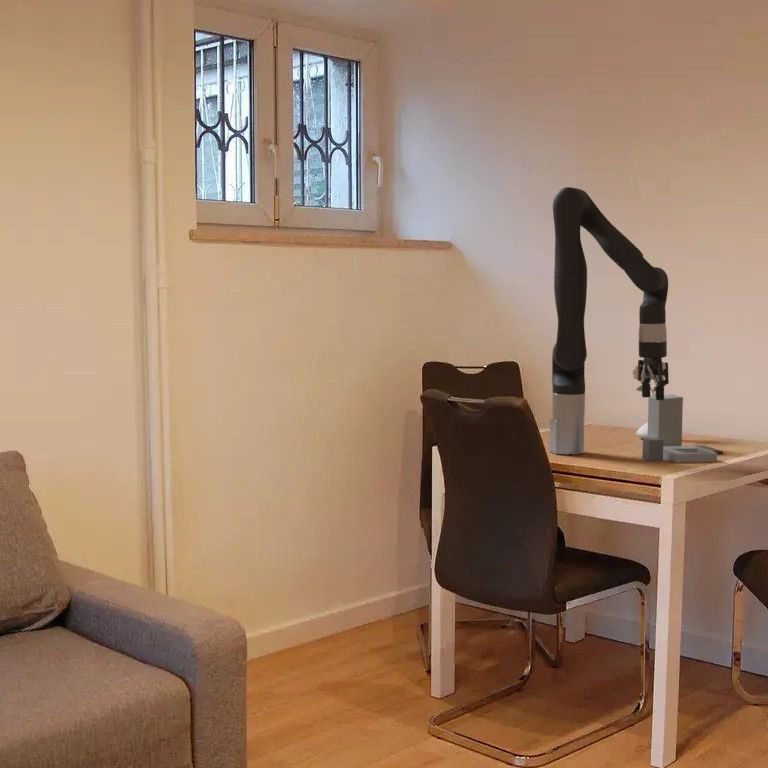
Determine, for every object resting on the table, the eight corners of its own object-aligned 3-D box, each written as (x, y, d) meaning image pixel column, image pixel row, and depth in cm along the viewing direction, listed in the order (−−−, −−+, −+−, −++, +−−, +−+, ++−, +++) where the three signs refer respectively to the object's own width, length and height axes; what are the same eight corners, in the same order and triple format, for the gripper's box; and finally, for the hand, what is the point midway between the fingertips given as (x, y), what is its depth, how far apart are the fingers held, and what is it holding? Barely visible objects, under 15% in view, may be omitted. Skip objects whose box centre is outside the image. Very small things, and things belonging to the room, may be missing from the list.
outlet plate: (675, 462, 304) (676, 453, 304) (654, 455, 318) (654, 446, 317) (716, 461, 306) (717, 452, 306) (693, 454, 320) (693, 445, 320)
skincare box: (670, 446, 335) (671, 394, 333) (683, 449, 328) (685, 396, 326) (645, 447, 332) (646, 394, 331) (658, 451, 325) (659, 397, 324)
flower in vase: (668, 436, 356) (670, 358, 354) (677, 441, 345) (679, 361, 342) (627, 436, 356) (629, 358, 354) (635, 441, 345) (636, 360, 343)
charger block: (648, 462, 306) (649, 439, 305) (642, 459, 310) (642, 437, 309) (662, 461, 306) (663, 439, 306) (656, 459, 310) (657, 437, 310)
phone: (723, 454, 319) (723, 450, 319) (703, 454, 318) (703, 451, 318) (703, 448, 331) (703, 444, 331) (684, 448, 330) (684, 445, 330)
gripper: (628, 339, 313) (629, 397, 314) (651, 341, 299) (651, 401, 300) (653, 338, 315) (654, 395, 316) (677, 340, 301) (677, 400, 302)
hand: (652, 398), depth 308 cm, fingers open, 8 cm apart
